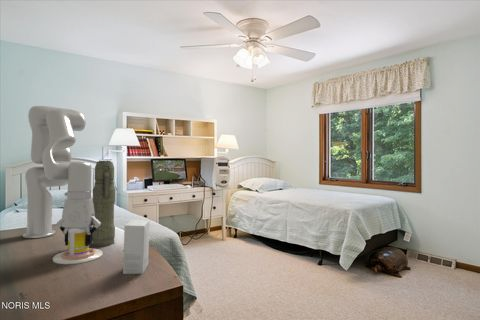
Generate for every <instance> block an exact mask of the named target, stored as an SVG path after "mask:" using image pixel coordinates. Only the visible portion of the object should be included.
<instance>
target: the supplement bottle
mask: <svg viewBox="0 0 480 320" xmlns="http://www.w3.org/2000/svg"><path fill="white" fill-rule="evenodd" d="M86 235H87V232H86V230H85V228H69V230H68V245H67V251H68V256H69V257H74V256H82V255H87V254H88V252H89V248H90V245H88V246H86V245H85V236H86Z"/></svg>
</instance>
